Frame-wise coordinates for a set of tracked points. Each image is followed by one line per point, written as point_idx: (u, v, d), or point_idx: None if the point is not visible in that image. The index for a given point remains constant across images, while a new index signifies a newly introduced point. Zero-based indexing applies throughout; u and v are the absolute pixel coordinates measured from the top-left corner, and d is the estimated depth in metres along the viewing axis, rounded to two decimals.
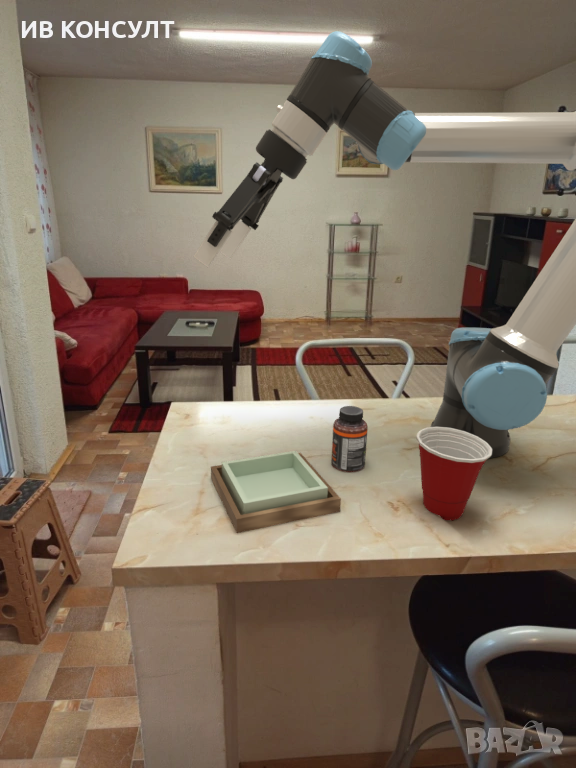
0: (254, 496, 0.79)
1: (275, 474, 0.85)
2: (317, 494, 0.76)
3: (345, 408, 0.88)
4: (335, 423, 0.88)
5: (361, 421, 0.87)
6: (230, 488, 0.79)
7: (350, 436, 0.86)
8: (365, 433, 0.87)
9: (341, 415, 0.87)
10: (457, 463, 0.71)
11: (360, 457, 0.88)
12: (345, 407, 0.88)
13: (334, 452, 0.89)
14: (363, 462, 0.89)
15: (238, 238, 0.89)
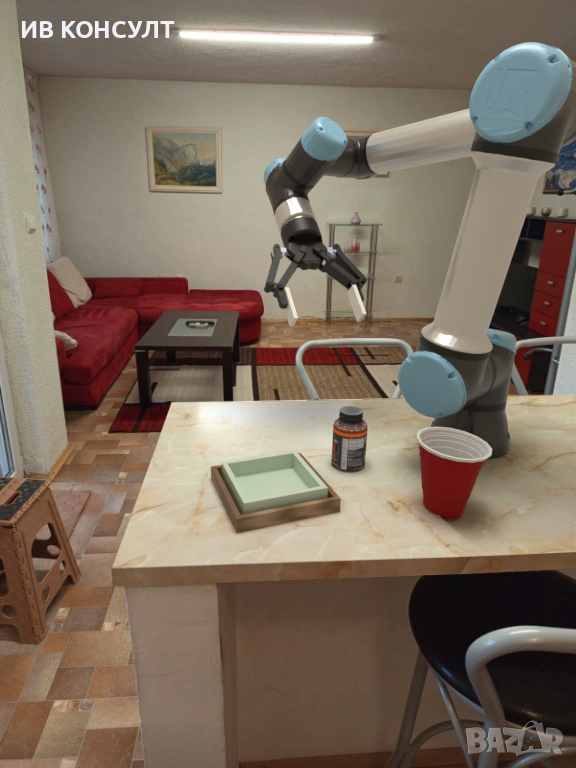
0: (254, 496, 0.79)
1: (275, 474, 0.85)
2: (317, 494, 0.76)
3: (345, 408, 0.88)
4: (335, 423, 0.88)
5: (361, 421, 0.87)
6: (230, 488, 0.79)
7: (350, 436, 0.86)
8: (365, 433, 0.87)
9: (341, 415, 0.87)
10: (457, 463, 0.71)
11: (360, 457, 0.88)
12: (345, 407, 0.88)
13: (334, 452, 0.89)
14: (363, 462, 0.89)
15: (354, 298, 0.95)
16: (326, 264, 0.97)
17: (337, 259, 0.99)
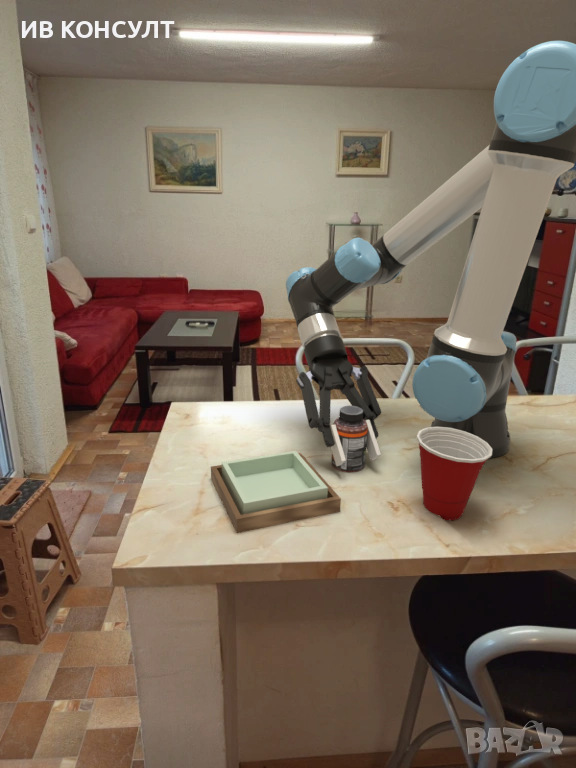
0: (254, 496, 0.79)
1: (275, 474, 0.85)
2: (317, 494, 0.76)
3: (345, 408, 0.88)
4: (335, 423, 0.88)
5: (361, 421, 0.87)
6: (230, 488, 0.79)
7: (350, 436, 0.86)
8: (365, 433, 0.87)
9: (341, 415, 0.87)
10: (457, 463, 0.71)
11: (361, 457, 0.88)
12: (345, 407, 0.88)
13: None
14: (363, 462, 0.89)
15: (368, 435, 0.89)
16: (346, 387, 0.92)
17: (360, 382, 0.94)
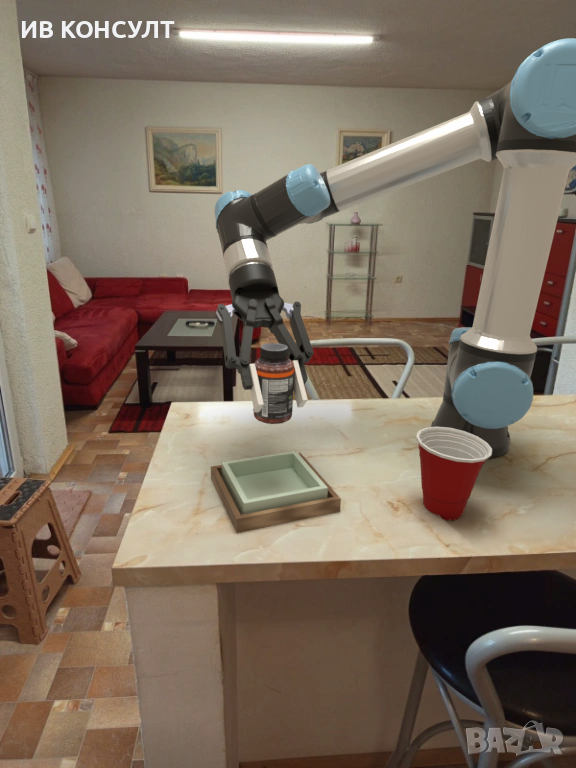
0: (254, 496, 0.79)
1: (275, 474, 0.85)
2: (317, 494, 0.76)
3: (267, 345, 0.75)
4: (255, 362, 0.75)
5: (285, 360, 0.74)
6: (230, 488, 0.79)
7: (270, 376, 0.73)
8: (290, 374, 0.74)
9: (261, 352, 0.74)
10: (457, 463, 0.71)
11: (284, 403, 0.75)
12: (268, 344, 0.75)
13: None
14: (289, 409, 0.76)
15: (295, 378, 0.76)
16: (274, 324, 0.79)
17: (292, 319, 0.81)
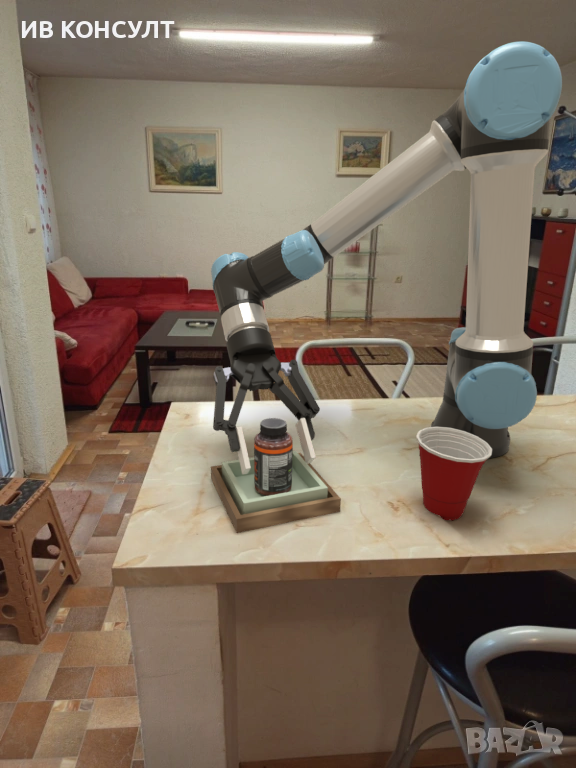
0: (254, 496, 0.79)
1: None
2: (317, 494, 0.76)
3: (266, 421, 0.78)
4: (256, 437, 0.78)
5: (284, 435, 0.77)
6: (230, 488, 0.79)
7: (270, 452, 0.76)
8: (289, 449, 0.77)
9: (261, 429, 0.77)
10: (457, 463, 0.71)
11: (284, 476, 0.78)
12: (267, 419, 0.78)
13: (255, 470, 0.79)
14: (288, 482, 0.79)
15: (303, 435, 0.79)
16: (275, 386, 0.81)
17: (291, 378, 0.84)
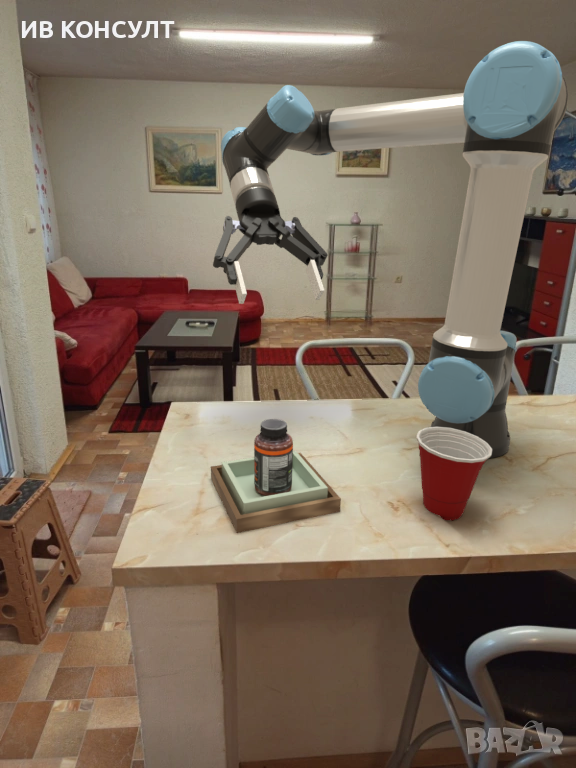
0: (254, 496, 0.79)
1: None
2: (317, 494, 0.76)
3: (266, 422, 0.78)
4: (256, 438, 0.78)
5: (284, 436, 0.77)
6: (230, 488, 0.79)
7: (270, 453, 0.76)
8: (289, 450, 0.77)
9: (261, 430, 0.77)
10: (457, 463, 0.71)
11: (284, 477, 0.78)
12: (268, 420, 0.78)
13: (255, 471, 0.79)
14: (288, 482, 0.79)
15: (313, 274, 0.88)
16: (283, 238, 0.90)
17: (296, 233, 0.92)
